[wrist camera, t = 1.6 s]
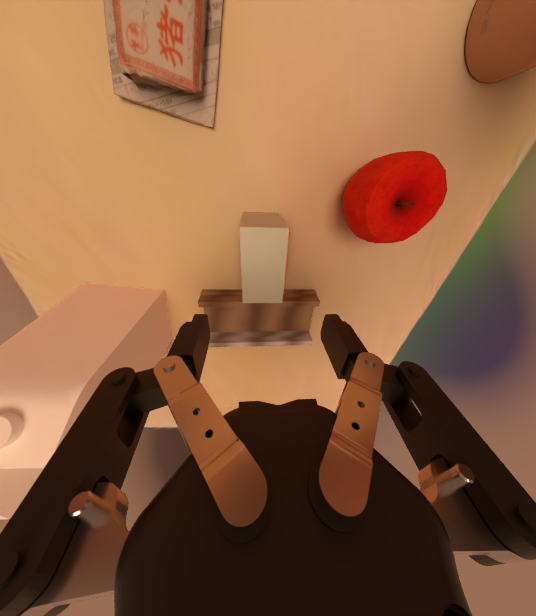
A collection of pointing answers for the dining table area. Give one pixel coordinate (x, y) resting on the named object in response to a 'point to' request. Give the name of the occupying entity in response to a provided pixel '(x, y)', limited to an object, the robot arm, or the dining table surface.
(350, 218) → the apple
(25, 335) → the milk
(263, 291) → the carton
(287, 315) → the wooden tray
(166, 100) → the packaged product
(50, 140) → the dining table surface
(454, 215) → the dining table surface
